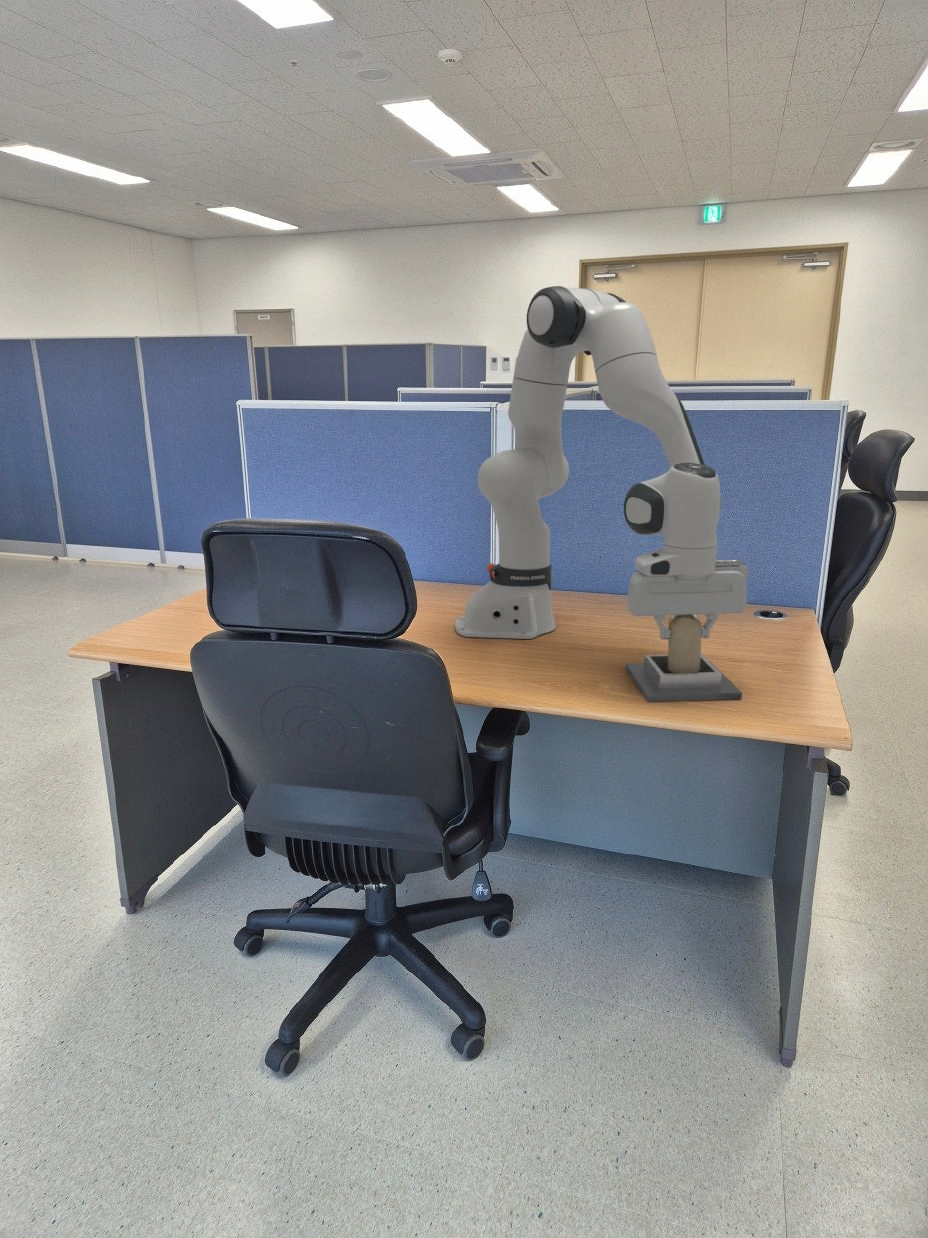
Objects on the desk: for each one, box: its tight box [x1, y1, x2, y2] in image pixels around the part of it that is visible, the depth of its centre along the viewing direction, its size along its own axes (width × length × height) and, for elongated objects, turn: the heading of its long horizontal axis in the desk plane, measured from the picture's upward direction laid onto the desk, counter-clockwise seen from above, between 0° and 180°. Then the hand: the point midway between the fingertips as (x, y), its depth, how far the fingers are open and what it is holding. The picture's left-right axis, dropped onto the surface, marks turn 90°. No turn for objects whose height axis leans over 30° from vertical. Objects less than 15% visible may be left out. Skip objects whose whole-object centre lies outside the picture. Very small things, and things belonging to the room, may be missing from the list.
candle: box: [667, 614, 703, 673], centre depth 138 cm, size 6×6×10 cm
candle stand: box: [625, 653, 743, 703], centre depth 139 cm, size 16×16×4 cm
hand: (684, 637), depth 137 cm, fingers closed on candle, 5 cm apart
